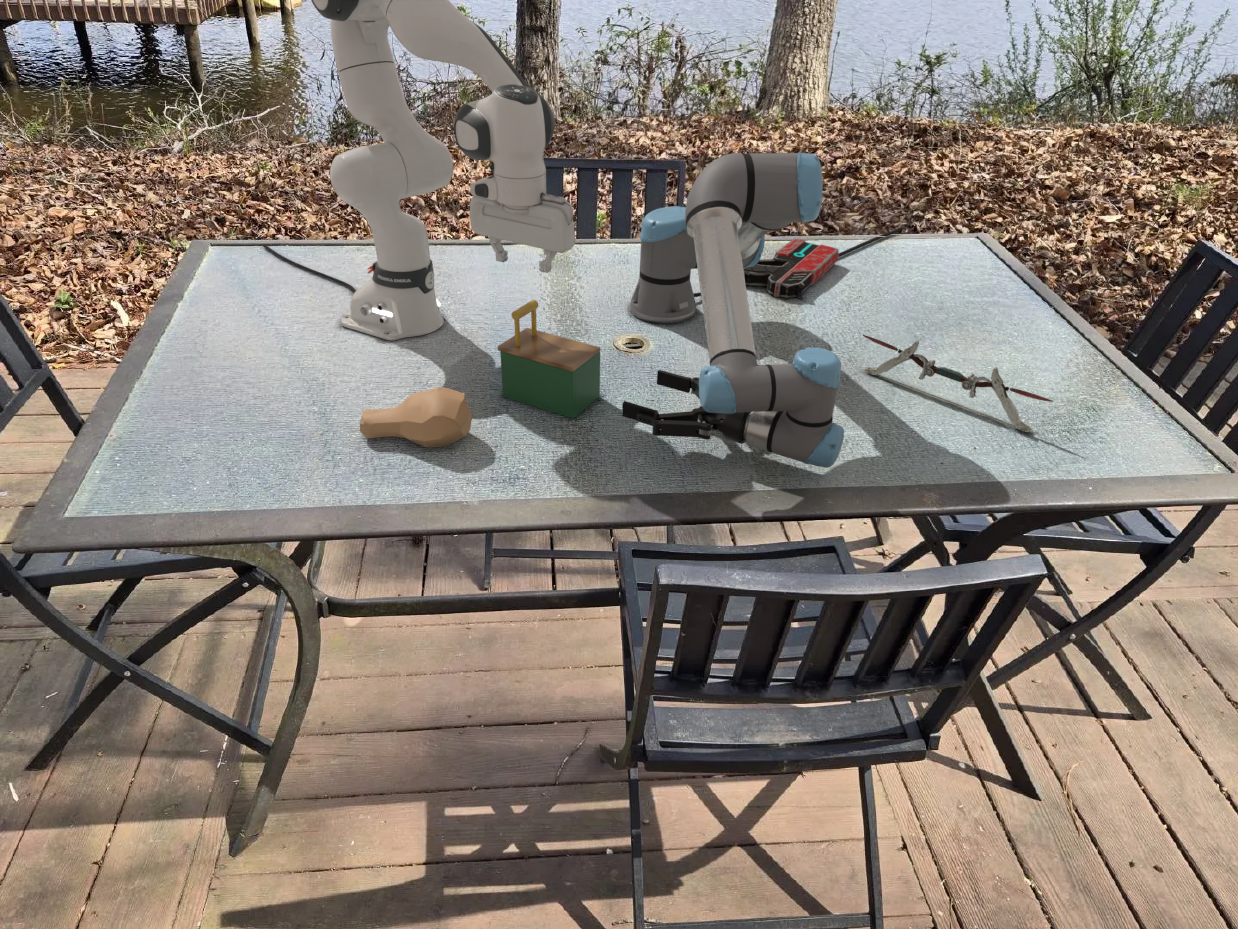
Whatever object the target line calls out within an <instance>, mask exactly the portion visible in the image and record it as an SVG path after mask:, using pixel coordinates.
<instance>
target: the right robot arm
mask: <svg viewBox="0 0 1238 929" xmlns="http://www.w3.org/2000/svg"><path fill="white" fill-rule="evenodd" d="M820 161H821V160H820V158H819V157H818V156H817V155H816V154H814V153H804V152H802V151H799V152H781V153H780V152H772V153H771V152H768V153H767V152H765V153H763V152H762V153H761V152H759V153H755V152H754V153H752V152H751V153H741V152H733V153H727V154H725V155H722V156H720V157H718V158H716V159H714V160H713V161H711V162H710V163H709V164H707V166H706V167H705V168H704V169H702V171H701V172H700V173H699V174H698V176H697V177H696V179H695V180H694V182H693V184H692V186H691V188H690V191H689V193H688V196H687V199H686V204H685V206H681V205H673V206H664V207H659V208H656V209H654V210H652V211H650V212H648V213H647V214H646V215H645V216H644V217H643V219H642V220H641V221H642V222H641V229H640V234H639V240H640V256H639V259H640V260H639V277H638V280H637V283H636V286H635V288H634V291H633V293H632V296H631V299H630V306H629V307H630V308H629V309H630V312H631V314H632V315H633V316H634V317H636V318H638V319H640V320H642V321H645V322H649V323H652V324H653V323H654V324H663V325H666V324H670V325H671V324H679V323H683V322H686V321H689V320H690V319H692V318H693V317H694V316H695V315H696V310H697V304H696V298H697V297H700V298H701V305H702V313H703V321H704V329H705V335H706V336H705V337H706V343H707V352H708V357H709V358H708V359H709V366H704V367H703V368H701V370H700V373H699V376H698V377H697V376H695V377H692V378H691V377H689V376H684V375H680V374H676V373H673V372H669V371H665V370H661V369H658V370H657V374H656V385H659V386H662V387H665V388H669V389H672V390H676V391H679V392H683V393H687V394H689V393H690V394H691V395H695V397H697V398H698V400H699V402H700V406H699V407H695V408H693V409H692V410H690V411H679V412H677V411H676V412H667V413H666V412H665V413H659V411H658V410H657V409H654V408H650V407H647V406H643V405H641V404H637V403H632V402H629V401H627V400H624V401H623V402H622V404H621V405H622V407H621V408H622V409H621V410H622V411H621V416H622V417H623V418H627V419H630V420H633V421H636V422H638V423H641V424H644V425H648V426H651V427H652V431H651V432H652V435H653V436H656V437H657V436H658V437H679V438H683V437H684V438H698V439H702V440H706V441H707V440H708V441H709V440H711V438H712V437H711V435H712V432H713V431H717V432H720V433H721V434H722V436H723V438H724V439H725V440H728V441H731V442H734V443H737V444H741V445H743V444H746V445H747V446H748V447H752V448H755V449H759V450H762V451H764V452H765V451H766V452H769V453H772V454H774V455H778V456H781V457H784V458H787V459H791V460H795V461H797V462H801V463H804V464H805V465H811V466H815V467H820V468H825V469H828V468H831V467H832V466H833V465H834V464H835V463H836V461H837V460H838V458H839V456H840V454H841V453H840V452H841V450H842V447H843V442H844V438H845V435H844V434H845V429H844V427H843V426H842V425H839V424H837V423H836V422H833V420H834V418H833V414H834V410H835V406H836V401H837V396H838V391H839V387H840V383H841V382H840V380H841V372H842V363H841V359H840V358H839V357H838V355H837V354H836V353H834V352H833V351H831V350H828V349H826V348H822V347H805V349H803V348H802V349H799V350H797V352H796V353H795V354H794V357H793V360H792V363H781V364H779V363H778V364H777V363H776V364H758V360H757V352H756V346H755V339H754V333H753V332H754V331H753V325H752V318H751V311H750V306H749V299H748V290H747V285H746V284H745V277H744V271H743V269H744V268H747V267H753V266H755V265H756V264H757V263H758V262H759V260H761V258H762V254H763V253H764V250H765V242H766V234H767V233H768V232H775V231H776V232H777V231H780V230H783V229H785V228H786V227H788V226H789V225H791V224H792V223H802V224H805V223H808V222H814V221H816V219H817V218H818V216H819V215H820V212H821V207H822V203H823V202H822V199H823V185H824V184H823V170H822V164H821V162H820ZM901 231H902V229H901V228H897V229H894V230H891V231H887V232H885V233H883V234H879V236H886V237H888V236H891V235H894V234H897V233H900V232H901ZM883 238H884V237H877V236H874V237H873V238H870V239H869V240H865V241H864V242H861V243H859V244H857V245H855V246H853V247H850V248H847V249H845V250H843V251H841V252H839V256H838V258H840V257H843V256H845V255H848V254H849V253H851V252H854V251H856V250H858V249H861V248H862V247H865V246H867V245H869V244H871V243H874V242H877V241H879V240H881V239H883ZM692 270H697V275H698V282H699V290H700V292H694V291H693V287H692V283H691V272H692Z"/></svg>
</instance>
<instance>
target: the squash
mask: <svg viewBox="0 0 1238 929" xmlns="http://www.w3.org/2000/svg"><path fill="white" fill-rule="evenodd" d="M472 422H473V413H472V411H471V409H470V408H469V406H468V403H467V398H466V395H465V393H464V392H460V391H459V390H454V389H452V388H449V387H442V386H438V387H435V388H431V389H428V390H424V391H423V390H422V391H417V392H413V393H411V394H410V395H409V396H407V397H406V398H405V399H404V401H403V402H401V403H399V404H398V405H396V406H394V407H387V408H381V409H380V408H379V409H375V408H366V409H363V410H362V412H361V418H360V422H359V432H360V433H361V434H362V435H363V436H364V437H365V439H375V438H385V437H386V438H387V437H397V438H402V439H407V440H409V441H411V442H413V443H414V444H417V445H419V446H421V447H424V448H426V449H427V448H428V449H429V448H444V447H447V446H449V445H451V444H453V443H456V442H457V441H459V440H461V439H463V438H465V437H466V436H467V435H468V433H469V432H470V431H471V427H472Z"/></svg>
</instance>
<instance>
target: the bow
mask: <svg viewBox="0 0 1238 929" xmlns="http://www.w3.org/2000/svg"><path fill="white" fill-rule="evenodd" d="M862 336H863V338H864V337H865V338H866V339H868V340H869V341H871V342H873V343H874V344H877V345H880V346H882V347H884V348H887V349H889V350H893V351H896V352H897V353H898V355H897V356H894V357H892V358H890V359H888V360H886V361H883V363H881V364H880V365H879V366H878V367H870V366H868V367H866V368H865V369H864V371H865V373H867V374H868V375H871V376H878V377H880V378H884V379H886V380H888V381H891V382H894V383H896V384H899V385H901V386H904V387H906V388H910V389H913V390H915V391H918V392H921V393H924V394H926V395H928V396H931V397H934V398H937V399H939V400H942V401H944V402H947V403H949V404H953V405H956V406H958V407H960V408H963V409H967V410H969V411H970V412H971V411H972V412H975V413H977V414H979V415H981V416H982V415H983V416H985V417H988V418H991V419H993V420H996V421H998V422H1001V423H1004V424H1007V425H1009V426H1012V427H1015V429H1016V430H1019V431H1021V432H1024V433H1030V432H1031V431H1032V430H1033V428H1032V427H1030V425H1027V424H1026V423H1025V422H1024V421H1022V420H1021V418H1020V414H1019V411H1018V409H1017V407H1016V406H1015V404H1014V402H1013V400H1012V399H1011V398H1010V397H1009V395H1008V393H1007V392H1009V391H1010V392H1012V393H1014V394H1018V395H1021V396H1023V397H1027V398H1031V399H1034V400H1038V401H1044V402H1050V403H1054V402H1055V400H1053V399H1049V398H1047V397H1044V396H1041V395H1038V394H1036V393H1032V392H1029V391H1026V390H1022V389H1019V388H1014V387H1009V386H1006V385H1005V384H1004V383H1005V381H1004V380H1003V378H1002V377H1001V375H1000V371H999V368H998V367H997V366H995V367H994V368H993V369H992V372H991V376H990V378H988V377H986V376H977V375H975V373H972V374H971V375H969V376H968V377H966V376H965V375H964V374H962V373H961V372H959V371H956V370H954V369H950V368H948V367H944V366H939V367H938V366H936V360H935V359H933V360H932V359H931V360H930V359H929V360H928V359H927V358H926V356H925V355H922V354H920V353H919V354H918V353H916V352H917V350H918V348H919V343H920V340H916V341H914V342H913V343H912V344H911V345H910V346H908V347H906V348H905V349H904V350H902V349H898V348H897V347H896V346H894V345H891V343H887V342H885V341H883V340H880V339H877V338H876V337H875V338H874V337H872V336H869V335H866V334H862ZM915 353H916V354H915ZM909 360H912V361H913V362H914V363H915V364H916V365H917V366H919V367H920V368H922V369H921V372H920V374H919V377H918V379H919V380H922V381H923V380H924V379H926V376H927V377H930V378H932V377H933V376H935V374H936V375H939V376H941V377H944V378H947V379H950V380H952V381H956V382H958V383H961V388H962V389H963V390H965V391H969V393H968V394H969V396H968V398H971V399H974V398H975V397H976V394H977V390H976V389H977V388H991V389H992V390H993V391H994V393H995V394H996V396H997V398H998V399H999V401H1000V403H1001V406H1002V408H1003V410H1004V411H1005V413H1006V415H1007V418H1008V419H1009V421H1010V422H1011V423H1009V422H1006V421H1004V420H1001V419H998V418H996V417H993V416H990V415H987V414H985V413H983V412H979V411H977V410H975V409H971V408H969V407H966V406H963V405H961V404H958V403H956V402H953V401H950V400H947V399H945V398H942V397H939V396H937V395H934V394H931V393H928V392H926V391H923V390H921V389H918V388H915V387H912V386H910V385H907V384H904V383H902V382H898V381H896V380H894V379H891V378H888V377H885V376H883V375H881V374H883V373H888V371H890V370H892V369H893V368H895V367H896V366H898V365H900V364H902V363H904V362H906V361H907V362H908V361H909Z"/></svg>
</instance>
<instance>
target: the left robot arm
mask: <svg viewBox="0 0 1238 929" xmlns="http://www.w3.org/2000/svg"><path fill="white" fill-rule="evenodd" d="M311 3H312V5H313V6H314V8H315V10H316V11H317V12H318V13H319V14H320V16H322V17H323V18H325V19H328V20H330V37H331V44H332V51H333V57H334V62H335V66H336V70H337V74H338V78H339V81H340V85H341V88H342V93H343V96H344V100H345V103H346V108H347V110H348V112H349V113H350V115H351V116H352V117H353V118H354V119H355V120H356V121H357V122H359V123H361V124H363V125H366V126H369V127H371V128H373V130H375V131H376V132H377V133H378V134H379V135H380V137H381V139H382V141H383V143H376V144H370V145H364V146H358V147H354V148H352V149H349V150H346V151H344V152H342V153H339V154H337V155H336V156H334V158H333V160H332V162H331V165H330V169H329V177H330V183H331V186H332V188H333V190H334V192H335V194H336V195H337V196H338V197H339V198H340V200H342V201H343V202H344V203H346V204H347V205H349V206H351V207H353V208H354V209H355V210H357V211H358V212H359V213H360V214H361V215H362V216H363V218H364V220H366V222H367V224H368V226H369V228H370V230H371V233H372V238H373V239H372V240H373V243H374V248H375V253H376V254H375V255H376V261H374V262H373V263H372V265H371V266H369V267H368V268H367V274H370V273H372V277H371V278H370V279H369V280H367V282H365V283H364V284H363V285H362V286H360V287H359V288H358V289H355V288H354V287H353V286H352V285H351V284H350V283H348V282H345V281H343V280H341V279H339V278H335V277H333V276H330V275H328V274H326V273H324V272H323V273H322V272H320V271H319V270H314V269H313V268H310V267H307V266H305V265H302V264H300V263H298V262H295V261H293V260H291V259H289V258H287V257H285V256H284V255H282V254H280V253H278V252H277V251H275V250H274V249H272V248H271V247H269V246H268V245H267V244H263V245H262V247H263V248H264V249H266V250H267V251H268V252H270V253H271V254H273V255H275V256H276V257H278V258H279V259H281V260H283V261H285V262H287V263H289V264H291V265H293V266H295V267H298V268H300V269H302V270H304V271H307V272H309V273H312V274H315V275H317V276H320V277H323V278H325V279H328V280H330V281H333V282H335V283H338V284H341V285H343V286H345V287H347V288H348V289H350V290H351V291H352V293H353V294H352V296H351V299H350V305H349V310H347V311H346V313H344V314H343V316H342V317H341V320H340V324H341V326H342V327H344V328H347V329H350V330H354V331H357V332H360V333H364V334H367V335H370V336H373V337H377V338H380V339H383V340H387V341H396V340H397V341H398V340H401V339H404V338H412V337H420V336H423V335H427V334H430V333H431V334H432V333H434V332H436V331H437V330H439V329H441V327H442V326H443V325H444V323H445V320H444V317H443V314H442V312H441V310H440V307H441V302H440V301H439V300H438V299H437V296H436V291H435V271H434V264H433V260H432V259H431V253H430V243H429V232H428V229H427V226H426V225H425V223H424V222H423V221H422V220H421V219H420V218H419V217H417V216H415V215H412V214H409V213H407V212H404V211H402V208H401V200H402V199H406V198H412V197H417V196H422V195H426V194H427V195H428V194H430V193H432V192H435V191H438V190H440V189H442V188H444V187H446V186H448V185H449V184H450V182H451V180H452V177H453V175H454V160H453V159H454V158H453V157H452V154H451V152H450V150H449V149H448V146H446V144H444V142H442V140H440V139H438V138H436V137H434V136H433V135H432V134H430V133H429V132H428V131H427V130H426V129H425V128H423V126H421V124H420V122H418V120H417V119H416V118H415V116H414V115H413V113H412V111H411V109H410V108H409V106H408V103H407V101H406V98H405V95H404V92H403V88H402V85H401V82H400V78H399V75H398V71H397V67H396V66H397V65H396V63H395V59H394V55H393V52H392V49H391V46H390V42H389V36H388V32H389V28H390V29H391V31H392V33H393V35H394V36H395V38H396V39H397V41H398V43H400V44H401V45H402V46H403V47H404V48H405V49H406V50H407V51H408V52H409V53H410V54H412V55H413V56H415V57H418V58H419V59H423V60H426V61H433V62H438V63H439V62H440V63H444V64H445V63H446V64H449V65H450V64H451V65H454V66H458V67H462V68H465V69H467V70H469V71H471V72H473V73H474V74H475V75H477V76H478V77H479V78H480V79H481V80H482V81H483V83H484V84H485V86H487V88H488V89H489V91H490V92H491V94H490V95H487V96H486V97H483V98H480V99H478V100H472V101H469V102H467V103H464V104H462V105H461V106H460V107H459V109H458V110H457V112H456V114H455V118H454V122H453V123H454V124H453V132H454V139H455V142H456V145H457V147H458V148H459V150H460V151H461V152H462V153H463V155H465V156H466V157H467V158H469V159H471V160H473V161H490V162H492V163H493V168H494V169H493V175H490V176H486V177H483V178H480V179H478V180H476V181H474V182H473V183H470V185H469V191H470V193H471V195H472V197H471V199H470V201H469V222H470V228H471V229H472V231H473V232H474V234H476V235H480V236H485V237H488V239H489V240H488V242H489V244H490V246H491V248H492V250H493V252H494V253H495V261H496V262H500V263H505V262H507V261H508V260H509V256H508V255H509V253H508V252H509V250H507V249H505V248H504V246H503V244H502V242H501V241H505V242H506V241H507V242H511V243H515V244H519V245H524V246H528V247H533V248H537V249H541V250H543V255H544V256H545V258H544V259H542V260H541V261H539V263H538V266H539V270H538V271H539V272H542V273H545V274H549V273H550V272H552V269H553V268H552V266H553V265H552V262H553V260H554V258H555V257H556V255H557V253H560V254H564V253H566V252H568V251H570V250H572V249H573V247H574V246H575V245H576V232H575V224H574V208H573V205H572V204H571V203H570V202H569V201H568V200H567V198H566V197H563V196H557V195H553V194H549V193H547V168H546V164H545V160H544V155H545V154H544V153H545V150H546V149H547V148H548V146H549V144H551V141H552V139H553V137H554V133H555V130H556V120H555V115H554V112H553V110H552V108H551V106H550V104H549V102H548V101H547V100H546V99H545V98H544V97H543V96H542V95H541V94H540V92H538V91H536V90H535V89H534V88H533V87H532V86H531V85H529V83H528V82H527V81H526V80H525V78H523V75H521V74H520V72H519V71H518V70H517V68H516V67H515V66H514V64H512V62H511V61H510V60H509V59H508V57H507V56H506V54H505V53H504V52H503V51H502V50H501V48H500V46H498V44H496V42H495V41H494V39H493V38H492V37H491V36H490V35H489V33H487V32H486V31H485V29H483V27H481V26H480V25H479V24H477V23H476V22H474V21H472V20H471V19H469V17H467V16H466V15H464V14H463V12H461V11H460V10H459V9H458V8H457V7H456V6H455V5H454V4H453V3H452V2H451V1H450V0H311Z"/></svg>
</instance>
